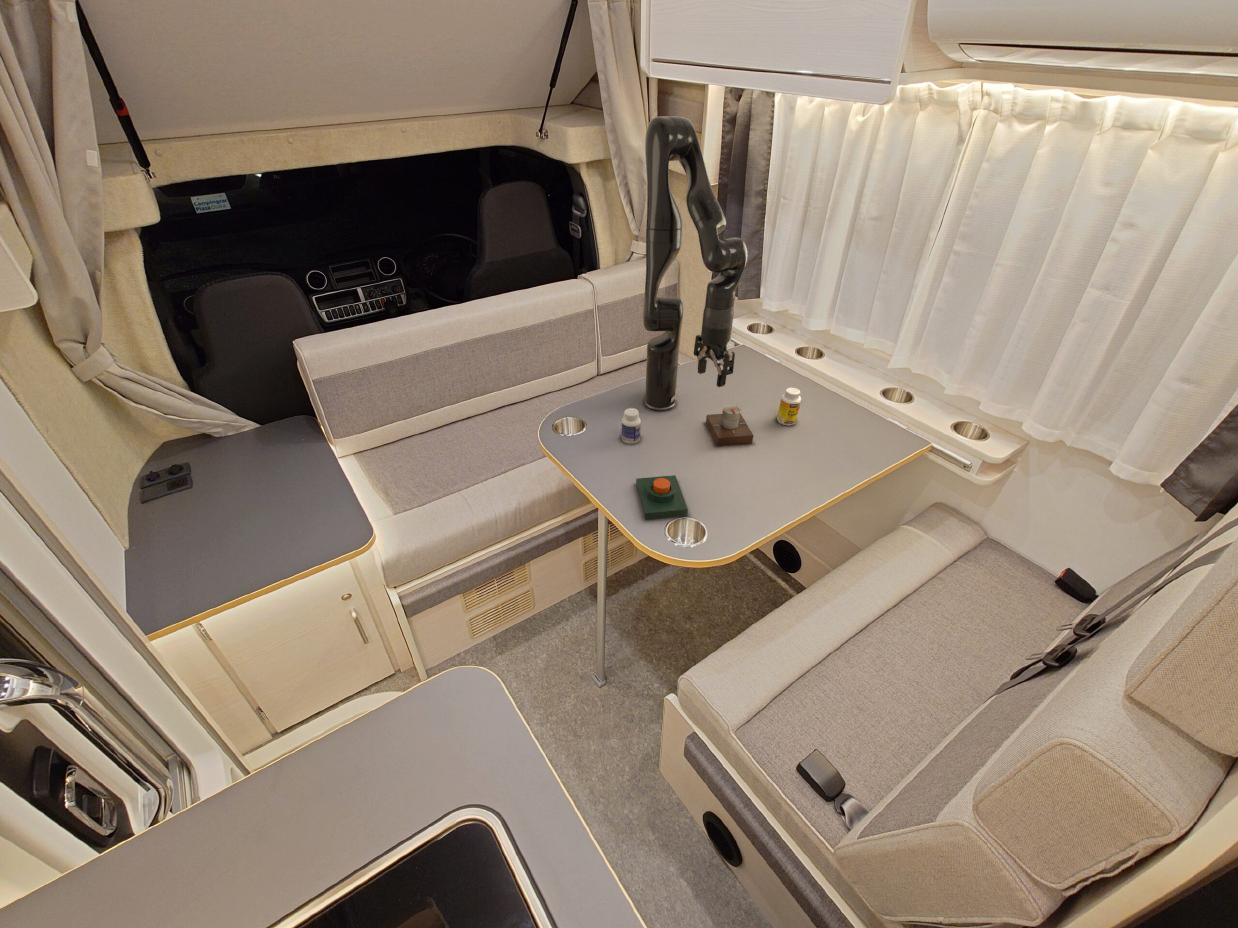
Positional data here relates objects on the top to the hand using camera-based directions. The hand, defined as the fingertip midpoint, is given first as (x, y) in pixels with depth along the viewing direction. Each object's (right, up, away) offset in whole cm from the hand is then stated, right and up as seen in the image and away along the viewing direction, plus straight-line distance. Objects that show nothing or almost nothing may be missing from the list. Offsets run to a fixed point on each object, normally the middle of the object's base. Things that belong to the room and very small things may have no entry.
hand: (710, 379), depth 150 cm
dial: (+6, -12, +7) cm, 15 cm away
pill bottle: (-21, -16, +7) cm, 27 cm away
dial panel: (+6, -14, +9) cm, 18 cm away
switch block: (-15, -32, -15) cm, 38 cm away
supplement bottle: (+25, -10, +14) cm, 30 cm away
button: (-15, -29, -17) cm, 36 cm away
